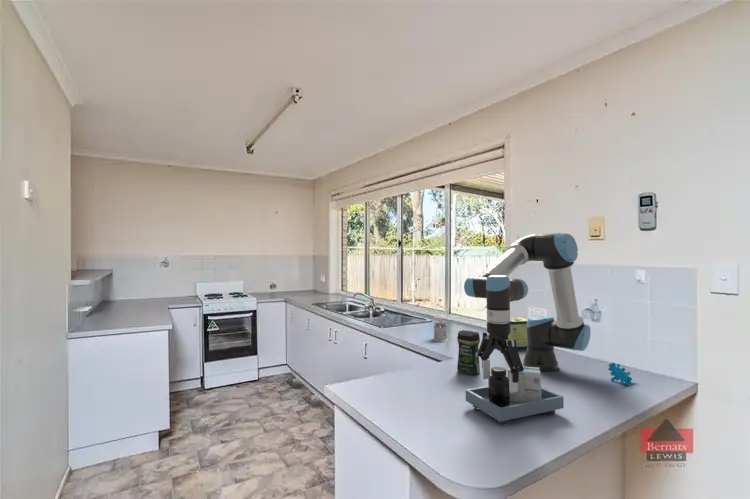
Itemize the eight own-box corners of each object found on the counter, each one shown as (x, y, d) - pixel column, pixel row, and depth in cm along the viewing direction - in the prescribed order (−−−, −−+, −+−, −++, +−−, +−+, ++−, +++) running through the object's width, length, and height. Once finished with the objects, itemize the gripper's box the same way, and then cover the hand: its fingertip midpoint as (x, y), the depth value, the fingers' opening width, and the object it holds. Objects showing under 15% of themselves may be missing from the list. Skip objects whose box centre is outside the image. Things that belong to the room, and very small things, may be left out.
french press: (432, 341, 233) (431, 299, 233) (432, 336, 244) (432, 297, 244) (448, 341, 231) (448, 300, 231) (448, 337, 243) (448, 297, 243)
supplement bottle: (504, 400, 133) (504, 365, 133) (513, 408, 127) (513, 371, 127) (485, 401, 133) (485, 366, 133) (493, 409, 126) (493, 372, 126)
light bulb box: (540, 397, 135) (540, 367, 135) (541, 405, 129) (541, 372, 129) (508, 394, 139) (507, 364, 139) (507, 401, 132) (507, 369, 132)
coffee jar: (454, 372, 174) (454, 331, 174) (462, 368, 180) (462, 328, 180) (474, 376, 168) (474, 333, 168) (482, 372, 174) (482, 330, 174)
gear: (620, 384, 153) (606, 361, 160) (609, 391, 157) (596, 368, 164) (640, 384, 157) (625, 362, 164) (629, 391, 160) (614, 369, 167)
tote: (465, 407, 135) (465, 389, 135) (524, 396, 145) (523, 379, 145) (500, 429, 119) (500, 409, 119) (563, 415, 128) (563, 396, 128)
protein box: (535, 348, 215) (535, 320, 215) (510, 350, 212) (509, 321, 212) (524, 343, 225) (524, 317, 225) (499, 345, 222) (499, 318, 222)
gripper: (466, 316, 140) (467, 375, 140) (515, 330, 117) (516, 400, 117) (484, 314, 143) (484, 372, 143) (535, 327, 120) (536, 396, 120)
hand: (499, 384), depth 130 cm, fingers open, 13 cm apart
